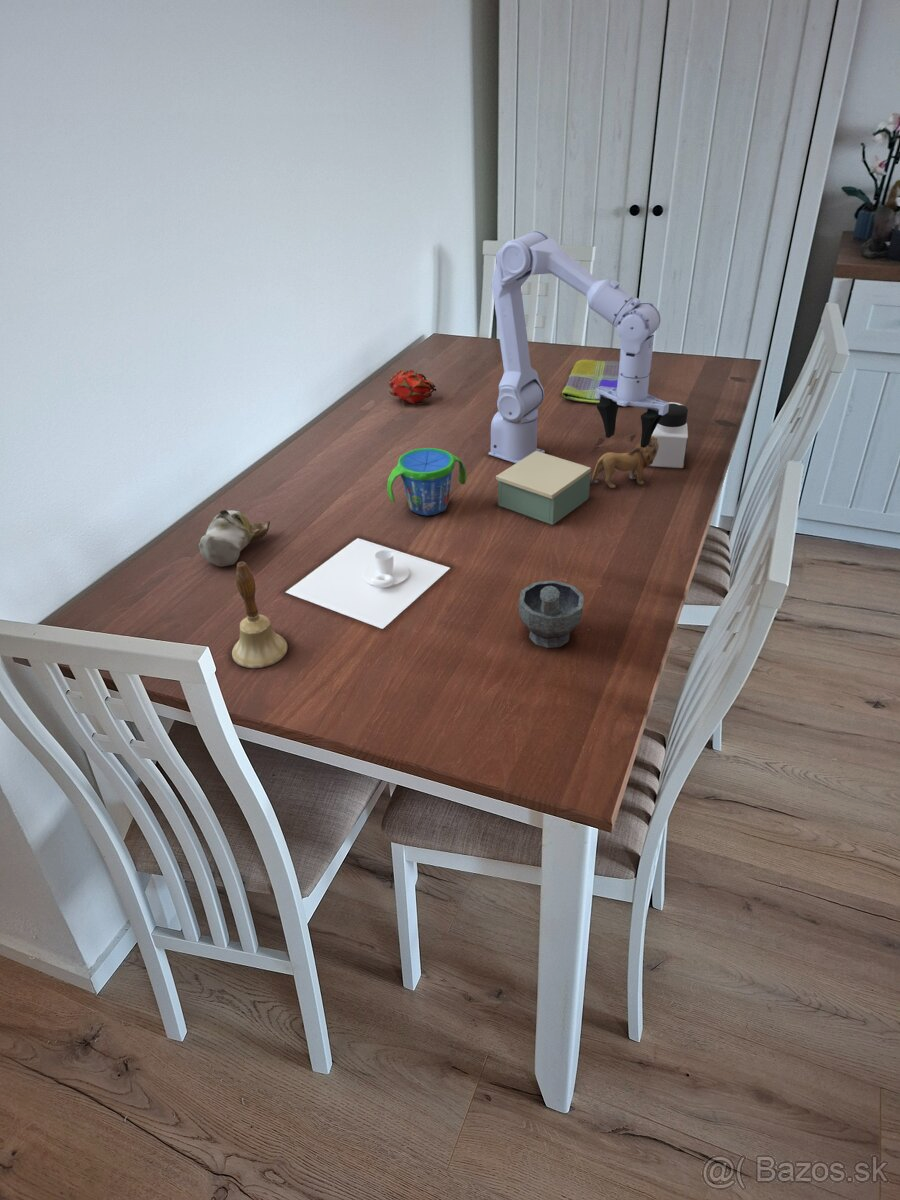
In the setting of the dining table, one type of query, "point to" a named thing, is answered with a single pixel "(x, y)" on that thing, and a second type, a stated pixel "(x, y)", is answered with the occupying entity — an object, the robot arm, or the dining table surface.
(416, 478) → the snack cup
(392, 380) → the dragon fruit
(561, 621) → the mortar and pestle
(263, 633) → the hand bell
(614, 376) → the dish towel
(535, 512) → the box
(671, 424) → the medicine bottle
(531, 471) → the lid
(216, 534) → the ceramic sculpture
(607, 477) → the lion figurine
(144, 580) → the dining table surface
